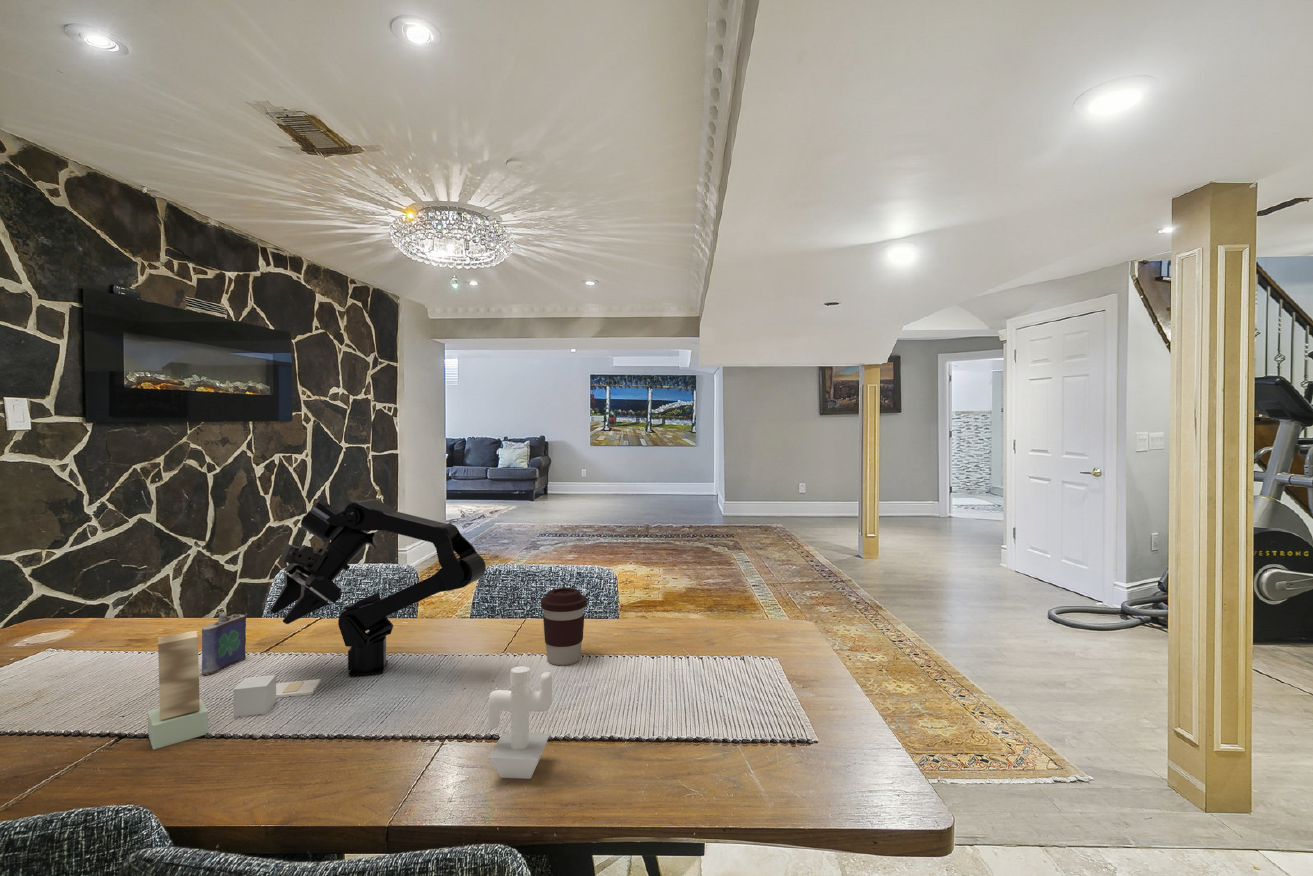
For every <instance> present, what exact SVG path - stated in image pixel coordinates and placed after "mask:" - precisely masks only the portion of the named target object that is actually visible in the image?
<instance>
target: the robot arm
mask: <svg viewBox="0 0 1313 876" xmlns="http://www.w3.org/2000/svg"><path fill="white" fill-rule="evenodd" d="M300 526H301V528H303V530H305V531H306V532H308V533H310V534H312V536H314V537H316V539H318V540H320V542H323V543H327V542H328V544H327V545H326V546H325V547H322V546H320V547H318V548H317V549H315V551H314V547H313V546H308V545H306V544H302V545H301V546H297V545H293V544H290V543H286V545H284V546H285V547H284V549H283V550H282V553H281V555H280V556H279V560H282V561H283V562H284V563H287V564H288V565H286V567H285V568H284V569H283V570H284V573H283V579H284V585H283V587H282V588H281V591H280V593H279V595H278V596H277V598H276V599H275V602H274V603H273V604H272V607H271V608H270V610H269V611H270V612H271V613H272V614H273V615H274V614H275V615H276V614H277V613H279V612H281V611H282V610H285V608H287V607H288V606H290V605H292V607H291V608H290V610H288V612H287V613H286V615H285V616H284V618H283V619H282V622H283V623H284V624H285V625H290V624H291V623H293V622H295V621H297V620H299V619H300V618H303V617H305V616H307V615H309V614H311V613H313V612H315V611H317V610H319V609H321V608H324V607H325V606H329V605H330V604H331V603H333V604H336V602H338V600H339V599H340V598H341V596H342V588H341V587H339V586H338V585H336V584H335V582H334V580H335V579H336V578H337V576H339V575H340V574H341V573H342V572H343V570H344V571H345V572H346V571H349V570H348V569H350V567H351V566H350V565H349V563H351V562H352V561H353V560H354V559H355V557H356V556H357V555H358V554H359V553H360V552H361V551H362V550H363V549H364V548H365V546H367V545H368V546H370V547H371V548H372V549H374V550H375V549H377V548H378V545H377V538H378V536H377V535H376V533H375V532H377V531H381V532H382V531H384V532H389V533H393V534H397V535H400V536H404V537H408V538H412V539H415V540H416V539H417V540H420V541H425V542H427V543H432V545H433V546H434V548H435V550H436V555H437V561H438V563H439V566H440V567H441V568H439V569H438V570H437V571H436V572H435V573H434V574H433V575H431V576H429V577H427V578H425V579H423V580H421V581H418V582H417V583H414V584H413V585H410V586H407V587H406V588H404V589H401V590H399V591H398V592H395V593H393V594H391V595H388V596H386V597H381V596H380V592H376V593H374V594H371V595H369V596H367V597H365V598H362V599H360V600H358V601H356V602H355V601H354V602H353V603H351V604H348V605H346V606H344V607H343V608H344V610H343V611H342V612H341V613H340V614H339V615H338V622H337V623H338V624H337V625H338V628H339V630H340V633H341V638H342V641H343V644H344V646H345V647H348V648H349V649H348V651H347V670H348V671H349V672H348V677H357V676H367V675H379V674H383V673H384V672H385V670H386V668H387V665H388V663H389V660H388V659H387V636H389V635H391V634H392V631H393V628H394V624H393V623H392V622H391V621H390V620H389V619H388V618H389V617H390V616H391V615H393V614H395V613H397V612H399V611H401V610H403V609H406V608H408V607H409V606H412V605H414V604H416V603H418V602H421V601H424V600H425V599H427V598H431V597H432V596H434V595H436V594H438V593H441V592H442V593H443V592H450V591H454V590H458V589H462V588H465V587H467V586H469V585H471V584H472V583H476V581H478V580H480V579H481V578H483V576H485V574H486V570H487V569H486V568H487V567H486V562H485V560H484V558H483V557H482V556H481V555H480V554H478V551H476V548H475V547H474V545H473V544H471V542H469V540H467V538H465V536H463V535H462V534H461V532H460V531H459V528H458V527H457V526H456V524H455V525H454V524H452V523H448V522H447V523H445V522H441V521H437V520H433V519H428V518H426V517H425V518H424V517H420V516H417V515H412V514H408V513H405V512H400V511H397V510H395V509H393V508H392V507H391V506H390V504H387V503H385V502H382V501H380V500H378V499H377V498H375V499H374V498H370V499H365V500H358V501H354V502H350V503H349V504H347V505H346V507H345V508H344V510H343V511H341V512H340V511H339V510H337V509H335V507H333V506H331V504H329V503H328V502H327V501H320V502H317V504H316V506H314V507H313V508H312V509H310V510H309V511H307V513H306V514H305V515H304V516H303V517H302V519H301V521H300ZM368 531H369V532H368ZM372 531H373V532H372ZM374 531H375V532H374ZM329 541H330V542H329ZM455 553H456V554H457V555H458V556H459V557H457V556H456V554H455ZM285 572H286V573H285ZM328 601H330V602H331V603H330V602H328ZM293 603H294V604H293Z"/></svg>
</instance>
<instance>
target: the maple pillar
mask: <svg viewBox="0 0 1313 876" xmlns="http://www.w3.org/2000/svg"><path fill="white" fill-rule="evenodd" d="M157 647H158V648H157V655H158V685H159V686H158V687H159V689H158V692H159V708H160V720H163V719H167V718H171V717H175V716H179V715H183V714H187V713H191V712H195V711H199V710H200V698H201V697H200V676H199V675H200V669H199V666H200V663H199V636H198V633H197V630H192V631H187V632H186V631H185V632H180V633H176V634H171V635H165V636H160V637H157Z"/></svg>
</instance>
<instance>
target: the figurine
mask: <svg viewBox="0 0 1313 876" xmlns="http://www.w3.org/2000/svg"><path fill="white" fill-rule="evenodd" d="M530 680H531V668H530V667H529V666H523V665H522V666H516V667H512V668H511V669H510V689H509V690H506V689H505V690H504V689H497V690H493V691H492V692H490V694H489V697H488V701H487V726H488V728H489V729H490V730H495V729H497V728H498V727H499V726H500V722H501V711H509V712H510V718H511V719H510V720H511V721H510V725H511V726H510V731H503V733H502V734H501V736H500V737H499V739H498V740H497V742H496V743H495V746H494V747H493V748H492V749H491V752H490V753H489V755H488V756H487V759H488V760H489V762H490V763H491V765H492V766H493V768H494V769H495V771H496V772H497V774H498V775H499V777H500V778H502V779H525V780H526V779H527V780H529V779H532V777H533V775H534V773H535V770H536V768H537V765H538V764H539V762H540V760H541V757H542V754H543V751H544V750H545V747H546V744H547V742H548V740H549V737H550V734H551V733H548V732H530V712H547V711H549V710H550V708H551V706H552V701H553V676H552V673H551V672H549V671H544V672H543V673H542V674H541V676H540V681H539V682H540V683H539V684H540V688H539V690H531V689H530Z"/></svg>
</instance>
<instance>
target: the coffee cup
mask: <svg viewBox="0 0 1313 876" xmlns="http://www.w3.org/2000/svg"><path fill="white" fill-rule="evenodd" d="M587 599H588V598H587V596H586V595H584V594H582V593H581V591H580V589H577V588H573V587H558V588H557V587H556V588H553V589H550V590H549V591H548V592H547V595H545V596H543V597H542V598H541V599H540V608H541V609H542V610H543V616H542V617H543V618H542V621H543V633H544V635H543V636H544V643H545V647H546V649H545V650H546V660H547V661H548V663H550V664H552V665H555V666H569V665H572V664H573V665H574V664H575V663H577V662H579V661H580V660H581V657H582V642H583V639H584V627H585V608H586V606H587V605H588V600H587Z"/></svg>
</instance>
